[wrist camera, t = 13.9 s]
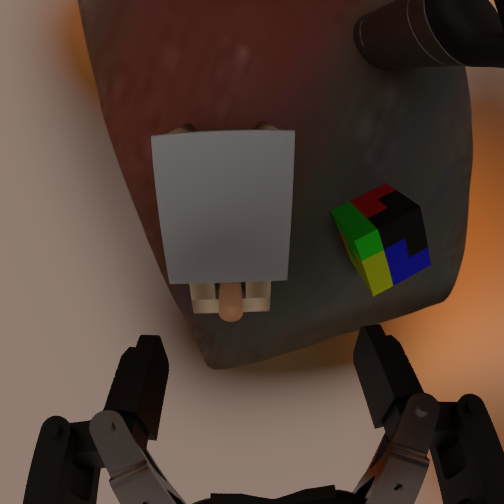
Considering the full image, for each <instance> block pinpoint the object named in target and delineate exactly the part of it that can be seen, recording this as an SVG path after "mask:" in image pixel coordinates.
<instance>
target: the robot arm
mask: <svg viewBox="0 0 504 504" xmlns="http://www.w3.org/2000/svg"><path fill="white" fill-rule="evenodd" d="M494 2H495V5H496V8H497V11H498V13H497V11H496V10H495V8H494V7H493V5H492V4H491V3H490V2H489V0H395V1H393V2H391V3H388V4H386V5H384V6H382V7H380V8H378V9H376V10H374V11H372V12H370V13H368V14H366V15H364V16H363V17H361V18H360V19H359V20H358V22H357V23H356V26H355V31H354V36H355V42H356V45H357V47H358V49H359V51H360V52H361V54H362V55H363V56H364V57H365V58H366V59H367V60H368V61H369V62H370V63H372V64H373V65H375V66H377V67H379V68H382V69H402V68H417V67H439V66H470V67H498V68H504V0H494ZM353 361H354V365H355V368H356V371H357V374H358V377H359V380H360V383H361V386H362V389H363V392H364V396H365V399H366V401H367V405H368V408H369V411H370V414H371V418H372V421H373V424H374V427H375V429H376V428H380V427H384V429H385V434H384V436H383V438H382V440H381V443H380V445H379V447H378V449H377V451H376V453H375V455H374V457H373V459H372V461H371V463H370V465H369V467H368V469H367V471H366V472H365V474H364V475H363V477H362V478H361V480H360V481H359V483H358V484H357V486H356V488H355V489H354V491H353V493H351V492H348V491H343V490H335V486H334V485H330V486H324V487H317V488H311V489H304V490H301V491H299V492H296V493H293V494H290V495H287V496H283V497H280V498H277V499H268V498H262V497H256V496H250V495H245V494H217V493H211V498H208V499H204V500H201V501H198V502H195V503H193V504H414V502H415V500H416V498H417V495H418V493H419V491H420V488H421V485H422V483H423V480H424V478H425V475H426V472H427V470H428V467H429V462H430V460H429V459H428V458H427V453H428V450H429V449H430V452H431V455H432V459H433V463H434V466H435V470H436V474H437V478H438V482H439V486H440V491H441V495H442V500H443V504H504V452H503V449H502V447H501V444H500V441H499V439H498V436H497V433H496V431H495V428H494V426H493V423H492V421H491V418H490V416H489V414H488V411H487V409H486V407H485V405H484V403H483V401H482V400H481V398H480V397H478V396H476V395H474V394H466V395H463V396H462V397H461V398H460V399H459V400H458V402H438V401H437V400H436V399H435V398H434V397H433V396H431V395H430V394H427V393H424V391H423V390H422V387H421V385H420V383H419V381H418V379H417V377H416V375H415V372H414V370H413V368H412V366H411V364H410V363H409V360H408V358H407V356H406V355H405V352H404V350H403V348H402V346H401V344H400V343H399V342H398V341H397V340H396V339H395V338H394V337H393V336H392V335H387V336H386V335H385V333H384V331H383V329H382V327H381V325H380V324H376V325H368V326H362V327H361V328H360V331H359V335H358V338H357V342H356V345H355V349H354V352H353ZM168 374H169V362H168V358H167V355H166V352H165V350H164V347H163V344H162V340H161V338H160V336H159V335H141V336H140V337H139V339H138V342H137V345H136V347H129V348H128V349H127V351H125V353H124V354H123V355H122V356H121V359H120V362H119V365H118V369H117V370H116V373H115V377H114V380H113V383H112V385H111V389H110V392H109V395H108V398H107V401H106V404H105V407H104V409H103V411H101V412H99V413H97V414H96V415H95V416H94V417H93V418H92V419H91V420H90V421H84V422H75V423H69V422H68V421H67V420H66V419H65V418H63V417H61V416H52V417H50V418H48V419H47V420H45V422H44V423H43V425H42V427H41V430H40V434H39V437H38V441H37V444H36V448H35V451H34V455H33V459H32V463H31V467H30V472H29V476H28V480H27V485H26V490H25V495H24V500H23V504H96V500H97V492H98V484H99V477H100V470H101V468H106V469H107V470H108V472H109V475H110V478H111V479H110V480H109V482H110V485H111V488H112V489H113V491H114V493H115V495H116V497H117V498H118V500H119V502H120V504H186V503H185V501H184V500H183V499H182V498H181V496H180V495H179V494H178V493H177V492H176V490H175V489H174V488H173V487H172V486H171V484H170V483H169V482H168V480H167V479H166V477H165V476H164V475H163V473H162V472H161V470H160V469H159V467H158V466H157V464H156V463H155V461H154V459H153V458H152V456H151V455H150V453H149V452H148V450H147V442H148V440H157V434H158V429H159V423H160V417H161V411H162V406H163V400H164V395H165V389H166V384H167V379H168Z"/></svg>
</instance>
